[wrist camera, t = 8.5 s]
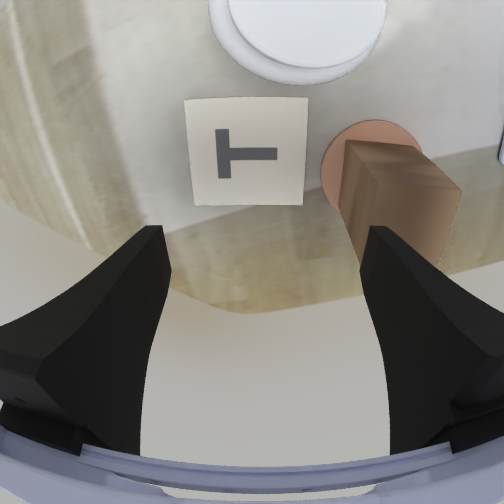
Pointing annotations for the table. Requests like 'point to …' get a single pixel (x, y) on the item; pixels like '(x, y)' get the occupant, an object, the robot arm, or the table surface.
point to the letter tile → (247, 150)
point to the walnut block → (396, 196)
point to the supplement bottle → (298, 36)
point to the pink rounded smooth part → (363, 132)
